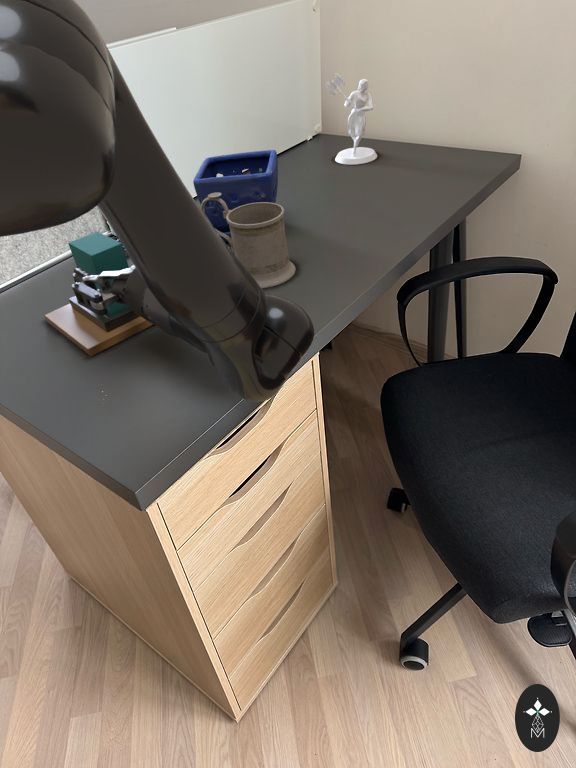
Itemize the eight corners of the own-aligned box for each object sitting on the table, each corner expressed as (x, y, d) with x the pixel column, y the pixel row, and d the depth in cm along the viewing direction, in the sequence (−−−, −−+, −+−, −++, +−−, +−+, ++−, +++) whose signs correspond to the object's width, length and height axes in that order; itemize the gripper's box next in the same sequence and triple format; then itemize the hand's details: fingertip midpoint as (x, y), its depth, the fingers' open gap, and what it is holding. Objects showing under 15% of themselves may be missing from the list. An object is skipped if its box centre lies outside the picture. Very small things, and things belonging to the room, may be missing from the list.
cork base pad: (90, 356, 75) (84, 339, 73) (47, 322, 84) (40, 306, 82) (188, 306, 83) (184, 290, 81) (139, 279, 92) (135, 264, 90)
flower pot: (204, 249, 98) (189, 180, 91) (216, 219, 108) (204, 154, 101) (280, 244, 96) (271, 173, 89) (285, 213, 107) (278, 147, 99)
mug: (305, 262, 90) (298, 187, 83) (277, 292, 83) (266, 213, 76) (228, 252, 96) (215, 181, 88) (196, 279, 89) (179, 205, 82)
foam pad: (114, 321, 79) (91, 255, 73) (91, 306, 84) (67, 242, 78) (141, 308, 82) (121, 243, 75) (117, 293, 86) (97, 231, 80)
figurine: (329, 164, 126) (323, 74, 115) (338, 151, 133) (333, 64, 122) (373, 164, 123) (372, 71, 112) (380, 150, 130) (379, 61, 119)
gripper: (215, 246, 67) (144, 217, 78) (109, 295, 61) (46, 256, 71) (226, 301, 72) (157, 267, 82) (129, 352, 65) (67, 308, 75)
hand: (106, 262), depth 76 cm, fingers open, 8 cm apart
